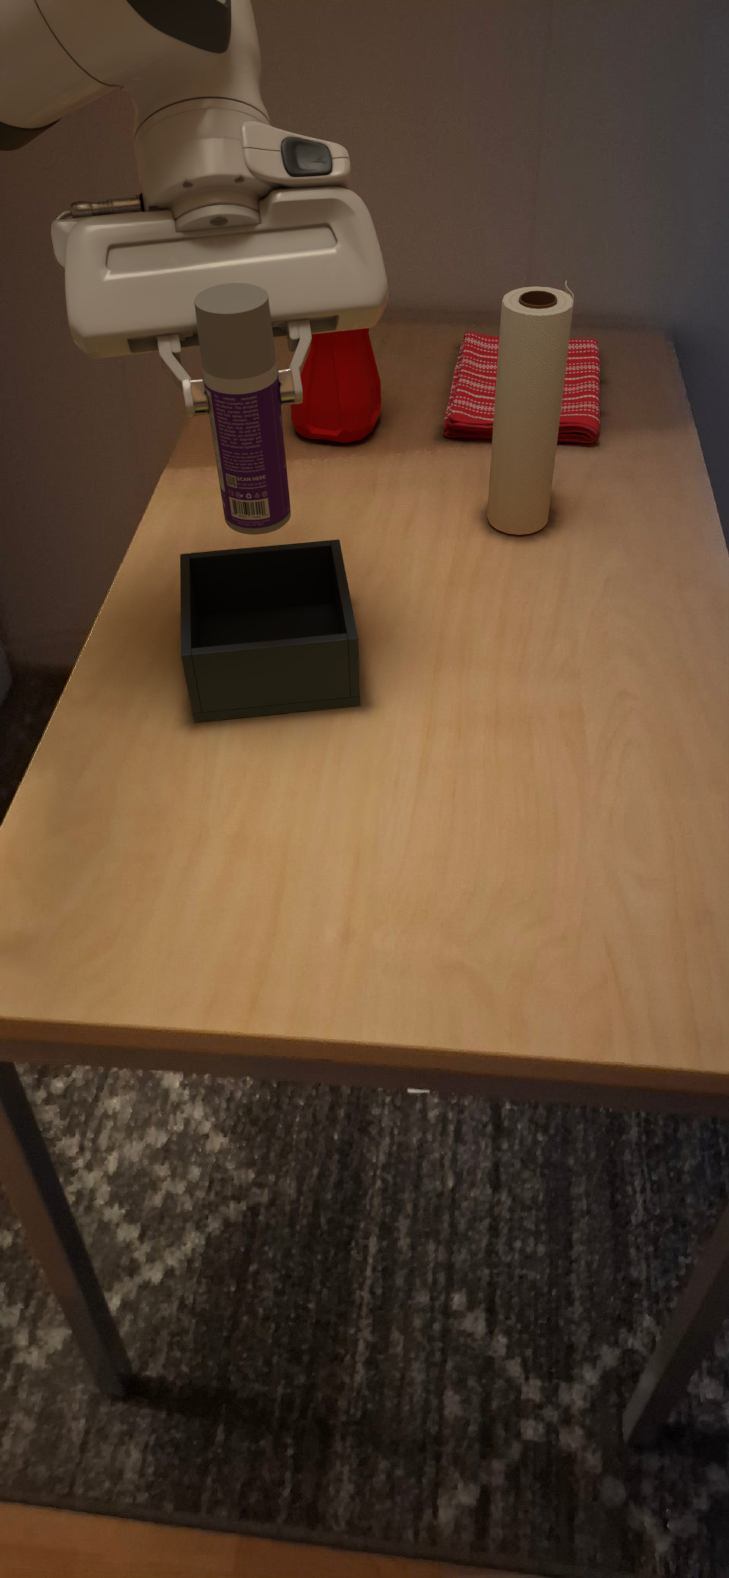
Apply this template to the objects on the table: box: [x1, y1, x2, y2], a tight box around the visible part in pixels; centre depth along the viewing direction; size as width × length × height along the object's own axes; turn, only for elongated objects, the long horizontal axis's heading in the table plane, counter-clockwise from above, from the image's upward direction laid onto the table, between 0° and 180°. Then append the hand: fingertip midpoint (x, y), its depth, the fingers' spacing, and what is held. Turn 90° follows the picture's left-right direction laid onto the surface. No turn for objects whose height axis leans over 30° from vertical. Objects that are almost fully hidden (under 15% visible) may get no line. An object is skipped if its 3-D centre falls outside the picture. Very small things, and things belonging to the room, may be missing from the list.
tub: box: [179, 539, 362, 723], centre depth 87 cm, size 14×14×7 cm
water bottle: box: [290, 190, 382, 444], centre depth 108 cm, size 9×11×25 cm
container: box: [194, 283, 292, 536], centre depth 68 cm, size 5×5×15 cm
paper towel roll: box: [486, 279, 575, 536], centre depth 95 cm, size 7×6×21 cm
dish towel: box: [442, 331, 601, 444], centre depth 120 cm, size 17×24×3 cm
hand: (245, 407), depth 67 cm, fingers closed on container, 4 cm apart
